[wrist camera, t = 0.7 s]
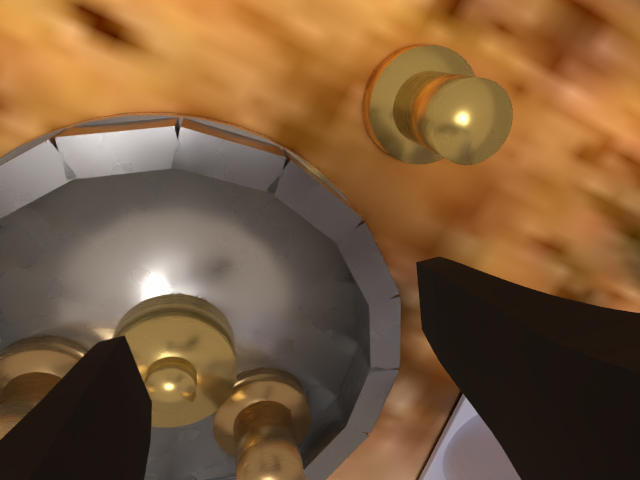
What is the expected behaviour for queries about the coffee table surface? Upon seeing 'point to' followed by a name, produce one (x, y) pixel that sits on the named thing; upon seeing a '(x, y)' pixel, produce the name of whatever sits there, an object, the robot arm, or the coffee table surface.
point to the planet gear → (435, 108)
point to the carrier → (198, 291)
